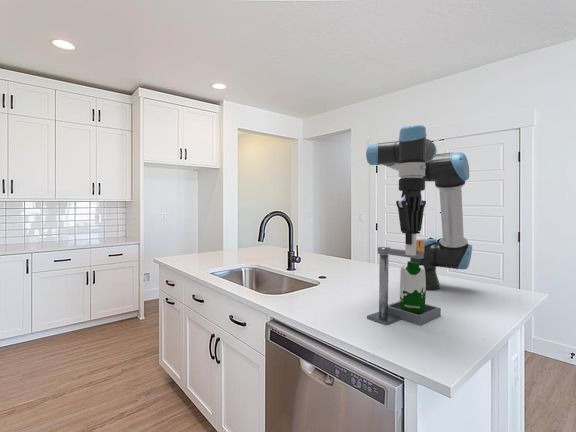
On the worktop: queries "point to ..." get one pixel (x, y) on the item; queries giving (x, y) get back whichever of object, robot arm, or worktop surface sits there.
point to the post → (383, 295)
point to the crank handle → (402, 252)
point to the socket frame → (428, 314)
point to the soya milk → (412, 288)
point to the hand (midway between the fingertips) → (410, 254)
